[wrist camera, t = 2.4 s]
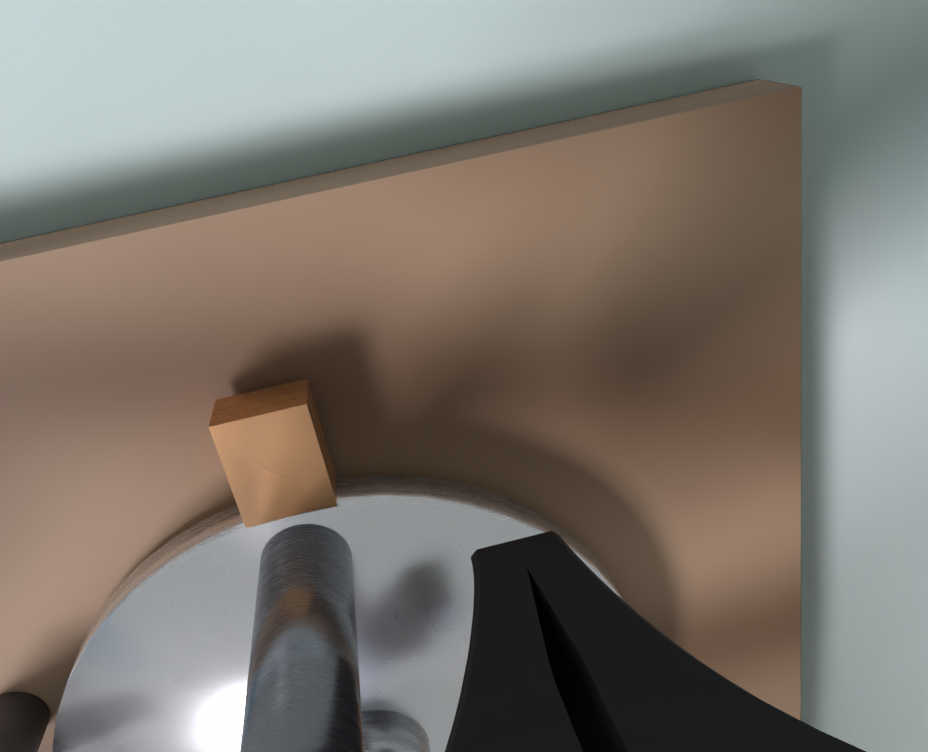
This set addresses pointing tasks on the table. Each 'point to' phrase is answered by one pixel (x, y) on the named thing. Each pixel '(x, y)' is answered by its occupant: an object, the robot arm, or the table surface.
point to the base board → (437, 368)
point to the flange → (295, 605)
